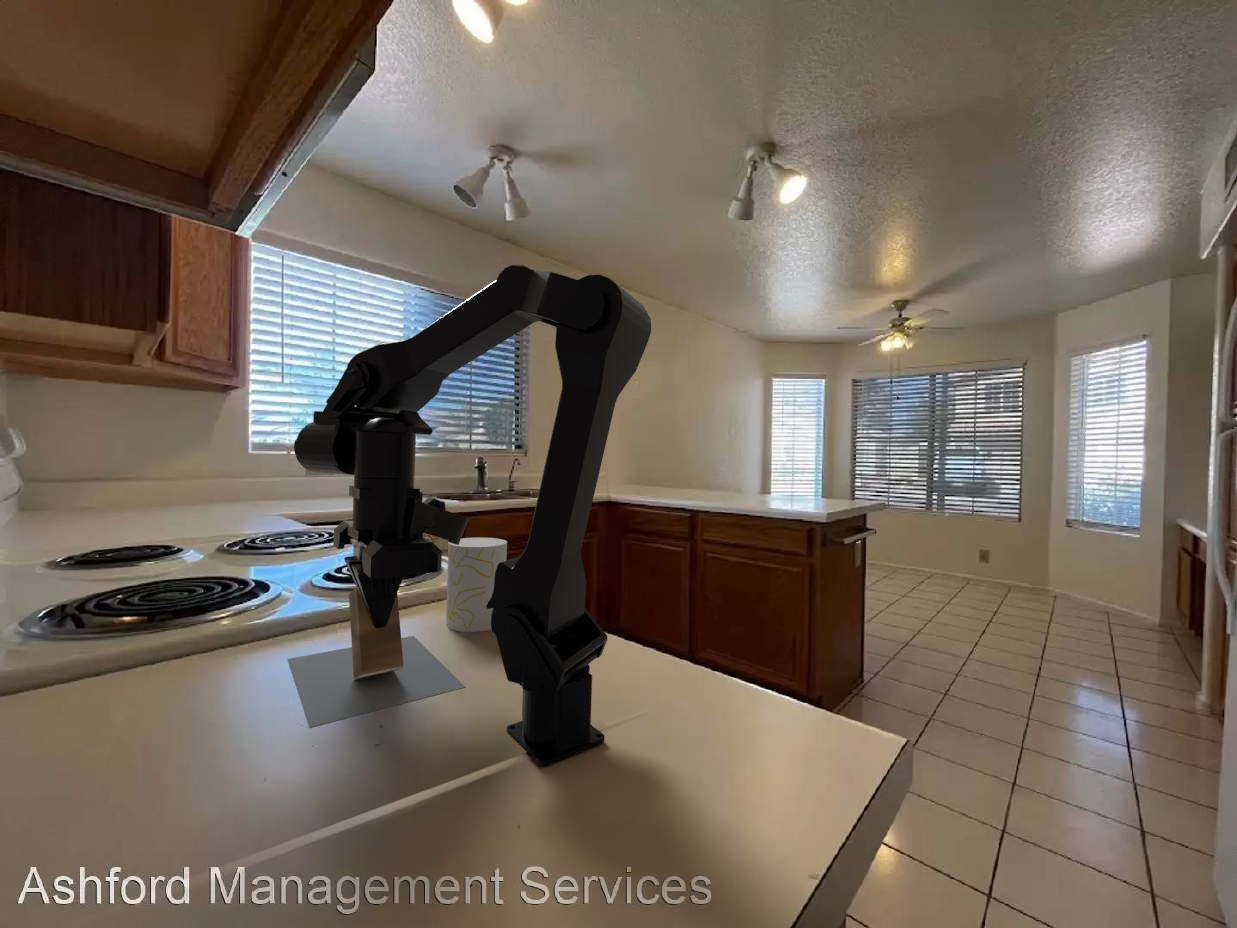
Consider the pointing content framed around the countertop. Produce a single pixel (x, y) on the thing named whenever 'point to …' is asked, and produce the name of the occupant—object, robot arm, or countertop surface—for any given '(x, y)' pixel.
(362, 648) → the walnut block
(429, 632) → the countertop surface
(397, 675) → the mat
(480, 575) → the cup
